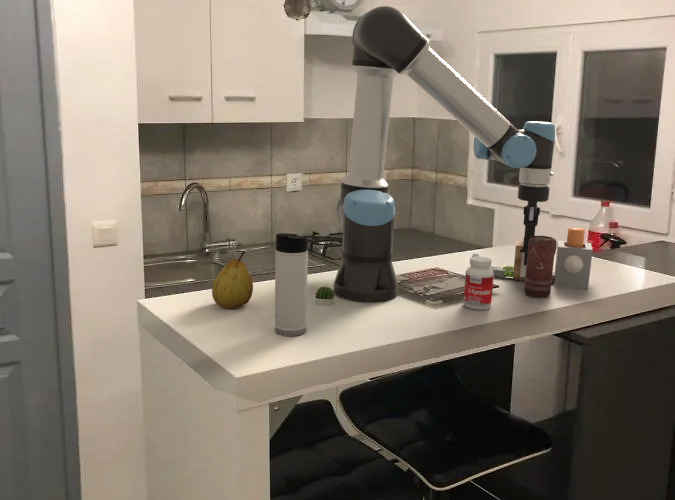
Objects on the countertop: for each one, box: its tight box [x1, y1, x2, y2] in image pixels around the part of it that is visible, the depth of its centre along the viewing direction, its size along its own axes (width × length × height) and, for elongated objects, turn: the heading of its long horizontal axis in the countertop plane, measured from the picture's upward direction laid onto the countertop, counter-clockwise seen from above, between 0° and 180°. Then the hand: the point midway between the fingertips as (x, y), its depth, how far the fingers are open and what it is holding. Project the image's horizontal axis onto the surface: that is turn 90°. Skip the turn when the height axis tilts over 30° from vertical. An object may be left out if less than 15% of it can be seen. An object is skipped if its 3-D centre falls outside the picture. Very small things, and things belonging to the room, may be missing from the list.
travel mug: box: [274, 232, 309, 337], centre depth 142 cm, size 6×7×20 cm
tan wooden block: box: [512, 240, 525, 281], centre depth 187 cm, size 6×6×9 cm
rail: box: [471, 253, 555, 284], centre depth 188 cm, size 21×3×5 cm, turn 75°
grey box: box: [553, 239, 593, 290], centre depth 184 cm, size 8×8×10 cm
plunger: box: [566, 227, 586, 248], centre depth 183 cm, size 4×4×6 cm
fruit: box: [211, 251, 254, 310], centre depth 158 cm, size 9×9×12 cm
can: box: [523, 235, 558, 299], centre depth 173 cm, size 6×6×14 cm
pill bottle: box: [462, 256, 495, 311], centre depth 163 cm, size 6×6×11 cm
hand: (525, 273), depth 188 cm, fingers closed on tan wooden block, 6 cm apart
